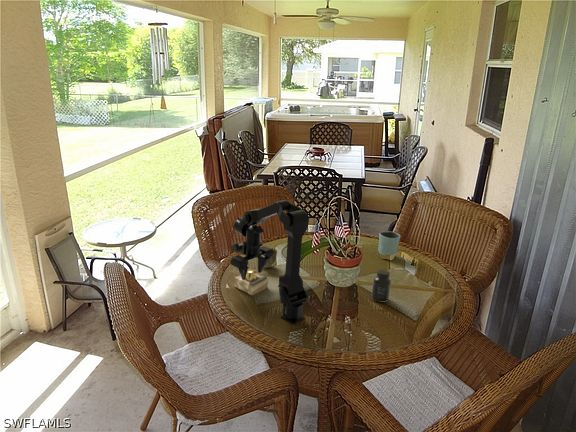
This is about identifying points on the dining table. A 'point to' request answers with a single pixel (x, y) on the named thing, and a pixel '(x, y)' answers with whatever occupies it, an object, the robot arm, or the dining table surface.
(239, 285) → the jig
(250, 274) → the gold metal cylinder
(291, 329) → the dining table surface
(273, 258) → the cup
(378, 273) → the supplement bottle
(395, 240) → the teal plant pot
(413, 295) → the dining table surface
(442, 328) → the dining table surface
